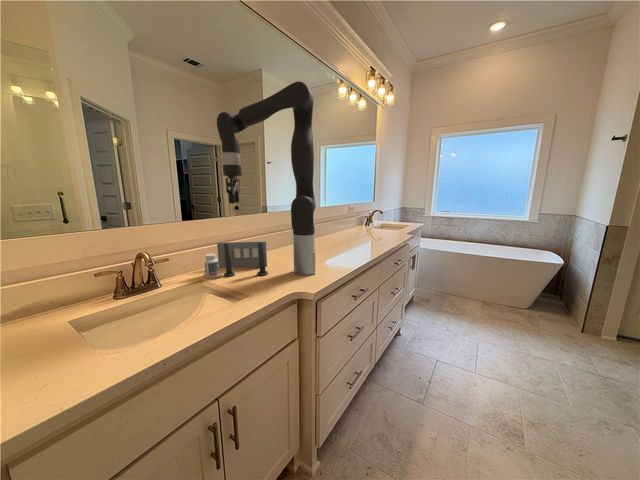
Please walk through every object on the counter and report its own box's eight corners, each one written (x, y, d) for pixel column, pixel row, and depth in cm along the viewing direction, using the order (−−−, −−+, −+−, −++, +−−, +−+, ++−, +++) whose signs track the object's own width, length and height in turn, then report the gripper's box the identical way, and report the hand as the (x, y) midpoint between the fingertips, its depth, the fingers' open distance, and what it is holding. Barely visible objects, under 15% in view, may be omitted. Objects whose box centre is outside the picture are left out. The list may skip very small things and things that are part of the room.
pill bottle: (221, 273, 109) (220, 253, 108) (213, 277, 105) (211, 256, 103) (212, 272, 111) (210, 252, 109) (203, 276, 106) (201, 255, 105)
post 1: (235, 273, 111) (233, 242, 108) (233, 276, 107) (231, 244, 104) (225, 273, 110) (223, 242, 108) (222, 277, 106) (219, 244, 103)
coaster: (224, 272, 112) (224, 271, 112) (219, 278, 104) (219, 277, 104) (206, 273, 112) (206, 272, 111) (199, 279, 104) (199, 278, 104)
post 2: (268, 272, 112) (267, 241, 109) (267, 275, 108) (265, 243, 105) (258, 272, 112) (256, 241, 109) (256, 276, 107) (255, 243, 105)
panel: (267, 265, 122) (266, 241, 119) (266, 267, 119) (265, 242, 117) (219, 267, 120) (217, 242, 117) (218, 268, 118) (216, 243, 115)
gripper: (237, 162, 102) (239, 203, 105) (244, 166, 116) (246, 202, 119) (217, 162, 101) (220, 204, 104) (227, 166, 115) (229, 202, 118)
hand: (234, 202), depth 112 cm, fingers open, 8 cm apart
